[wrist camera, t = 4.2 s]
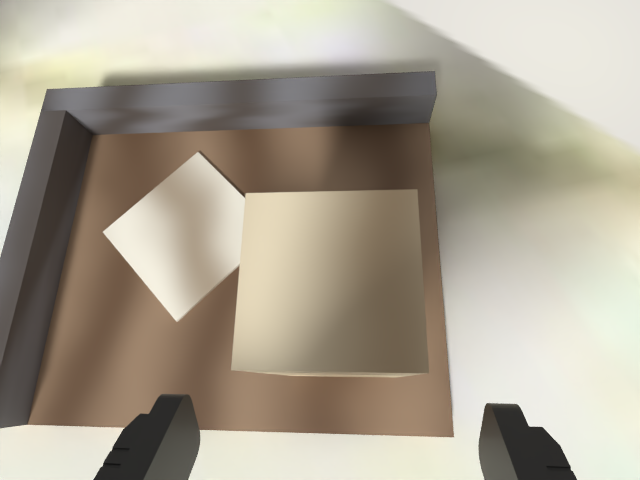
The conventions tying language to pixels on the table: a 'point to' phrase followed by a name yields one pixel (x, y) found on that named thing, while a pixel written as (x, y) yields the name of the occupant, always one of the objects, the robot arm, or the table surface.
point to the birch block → (331, 285)
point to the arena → (199, 250)
